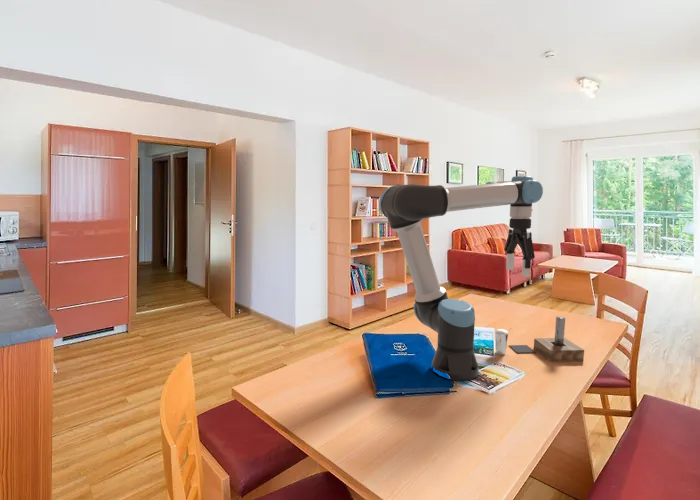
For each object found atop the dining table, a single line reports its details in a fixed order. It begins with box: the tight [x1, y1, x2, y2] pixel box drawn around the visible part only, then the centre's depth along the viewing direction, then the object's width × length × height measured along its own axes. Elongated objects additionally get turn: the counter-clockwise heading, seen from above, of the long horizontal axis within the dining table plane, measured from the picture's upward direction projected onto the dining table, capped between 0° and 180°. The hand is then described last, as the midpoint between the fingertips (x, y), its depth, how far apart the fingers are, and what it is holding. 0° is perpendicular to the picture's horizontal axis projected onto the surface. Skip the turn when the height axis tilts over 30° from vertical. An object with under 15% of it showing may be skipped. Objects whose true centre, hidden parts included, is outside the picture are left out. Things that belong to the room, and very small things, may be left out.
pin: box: [554, 316, 566, 346], centre depth 146 cm, size 3×3×14 cm
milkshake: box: [494, 327, 512, 356], centre depth 147 cm, size 4×5×10 cm
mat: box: [508, 344, 537, 354], centre depth 151 cm, size 7×7×1 cm
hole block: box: [533, 337, 585, 362], centre depth 146 cm, size 12×12×4 cm
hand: (517, 273), depth 152 cm, fingers open, 13 cm apart
